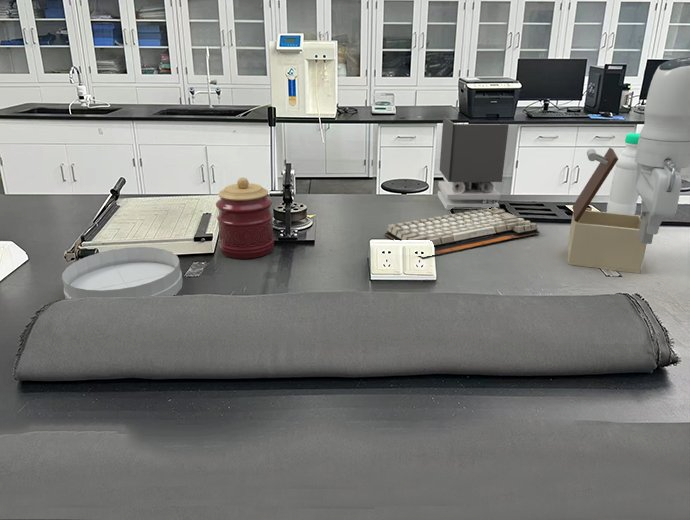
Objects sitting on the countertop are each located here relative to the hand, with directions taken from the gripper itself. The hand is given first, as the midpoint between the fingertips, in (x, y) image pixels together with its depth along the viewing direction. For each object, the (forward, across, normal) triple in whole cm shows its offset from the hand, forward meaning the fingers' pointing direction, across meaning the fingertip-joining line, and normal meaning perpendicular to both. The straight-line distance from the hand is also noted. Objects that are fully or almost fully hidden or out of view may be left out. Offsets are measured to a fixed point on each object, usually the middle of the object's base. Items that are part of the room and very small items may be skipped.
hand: (648, 226), depth 101 cm
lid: (-3, +18, +8) cm, 20 cm away
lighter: (+3, -1, 0) cm, 3 cm away
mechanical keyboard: (+14, +24, +38) cm, 47 cm away
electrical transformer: (+14, +55, +40) cm, 70 cm away
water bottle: (+15, +45, -2) cm, 47 cm away
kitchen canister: (+13, -5, +85) cm, 86 cm away
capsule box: (+14, +18, +5) cm, 23 cm away
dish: (+13, -33, +97) cm, 103 cm away
